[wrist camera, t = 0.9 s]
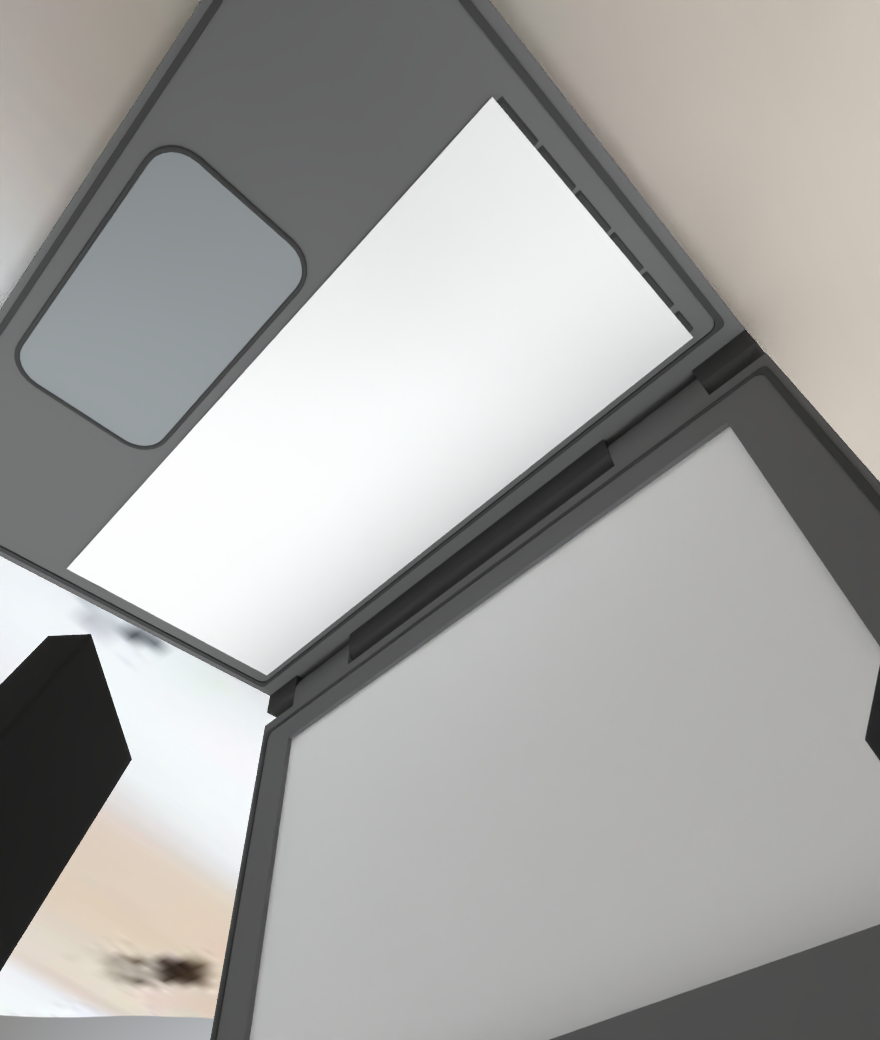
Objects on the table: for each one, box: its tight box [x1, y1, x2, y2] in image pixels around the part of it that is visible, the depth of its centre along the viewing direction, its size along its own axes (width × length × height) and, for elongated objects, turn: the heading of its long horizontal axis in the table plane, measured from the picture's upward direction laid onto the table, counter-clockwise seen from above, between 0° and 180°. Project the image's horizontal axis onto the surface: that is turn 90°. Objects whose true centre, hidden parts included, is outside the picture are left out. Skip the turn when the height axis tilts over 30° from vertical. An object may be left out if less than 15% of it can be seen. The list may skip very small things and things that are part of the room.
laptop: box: [0, 0, 880, 1040], centre depth 28 cm, size 38×31×32 cm
